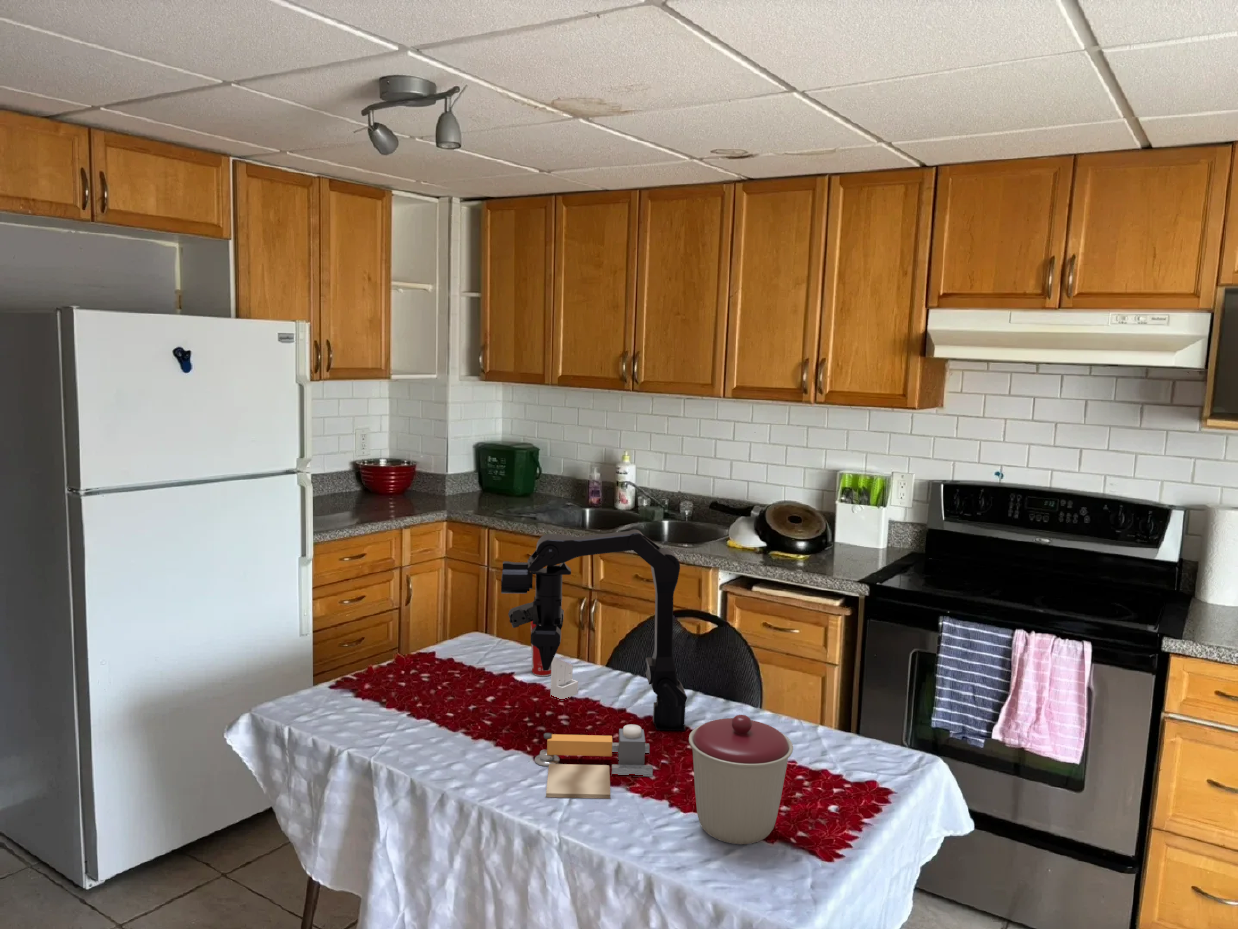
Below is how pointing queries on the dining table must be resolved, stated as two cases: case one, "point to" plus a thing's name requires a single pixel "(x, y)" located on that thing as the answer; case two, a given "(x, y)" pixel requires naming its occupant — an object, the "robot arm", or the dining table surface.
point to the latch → (578, 745)
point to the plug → (631, 745)
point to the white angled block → (562, 679)
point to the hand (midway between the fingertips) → (546, 662)
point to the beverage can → (537, 660)
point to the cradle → (616, 769)
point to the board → (578, 781)
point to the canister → (738, 777)
